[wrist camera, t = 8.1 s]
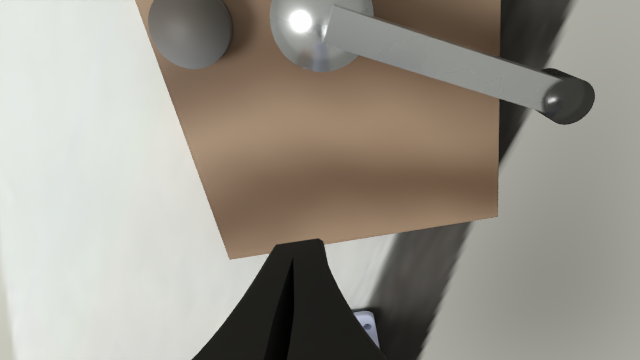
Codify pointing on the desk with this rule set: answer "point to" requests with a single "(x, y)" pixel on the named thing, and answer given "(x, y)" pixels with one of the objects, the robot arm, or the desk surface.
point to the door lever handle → (418, 55)
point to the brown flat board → (327, 126)
